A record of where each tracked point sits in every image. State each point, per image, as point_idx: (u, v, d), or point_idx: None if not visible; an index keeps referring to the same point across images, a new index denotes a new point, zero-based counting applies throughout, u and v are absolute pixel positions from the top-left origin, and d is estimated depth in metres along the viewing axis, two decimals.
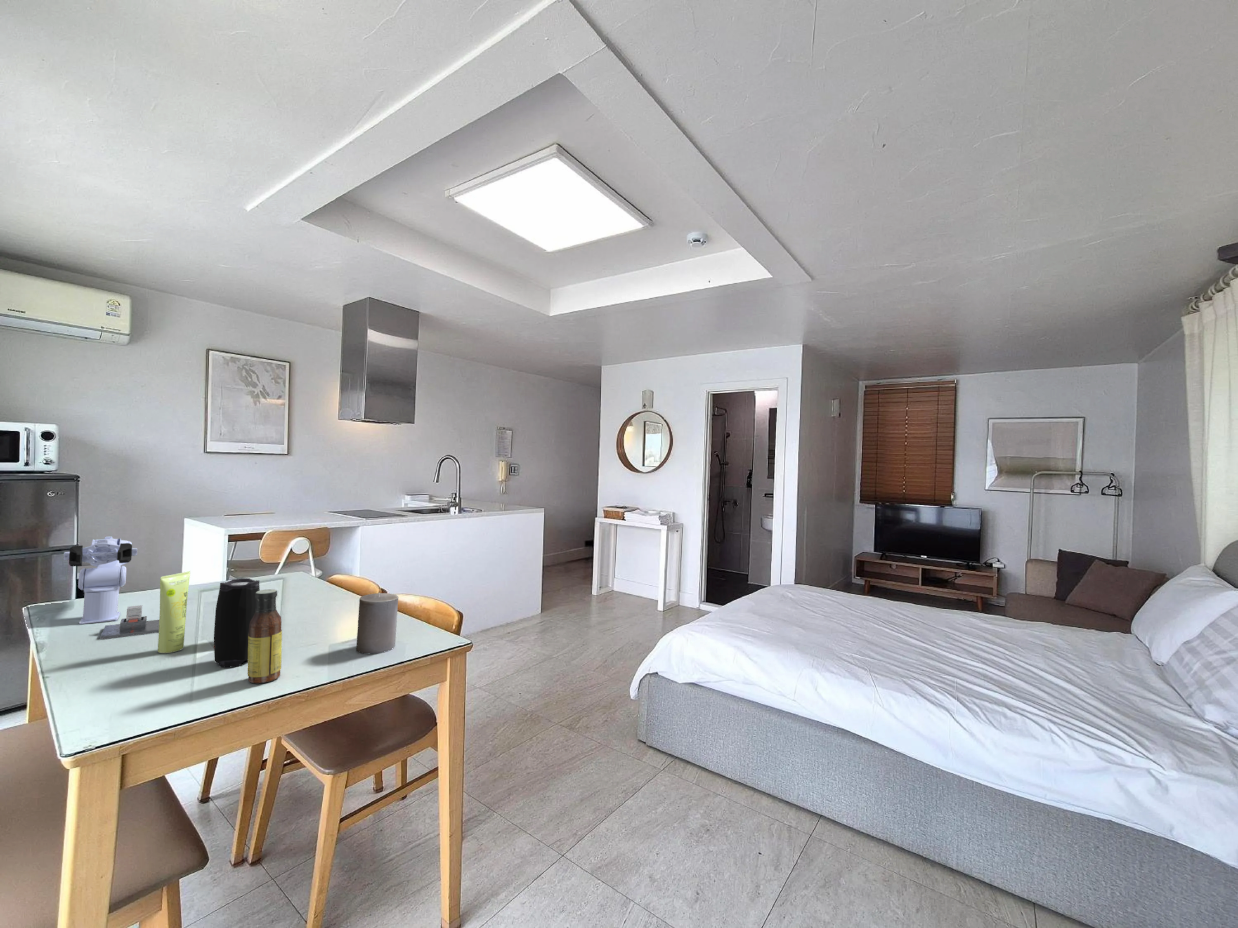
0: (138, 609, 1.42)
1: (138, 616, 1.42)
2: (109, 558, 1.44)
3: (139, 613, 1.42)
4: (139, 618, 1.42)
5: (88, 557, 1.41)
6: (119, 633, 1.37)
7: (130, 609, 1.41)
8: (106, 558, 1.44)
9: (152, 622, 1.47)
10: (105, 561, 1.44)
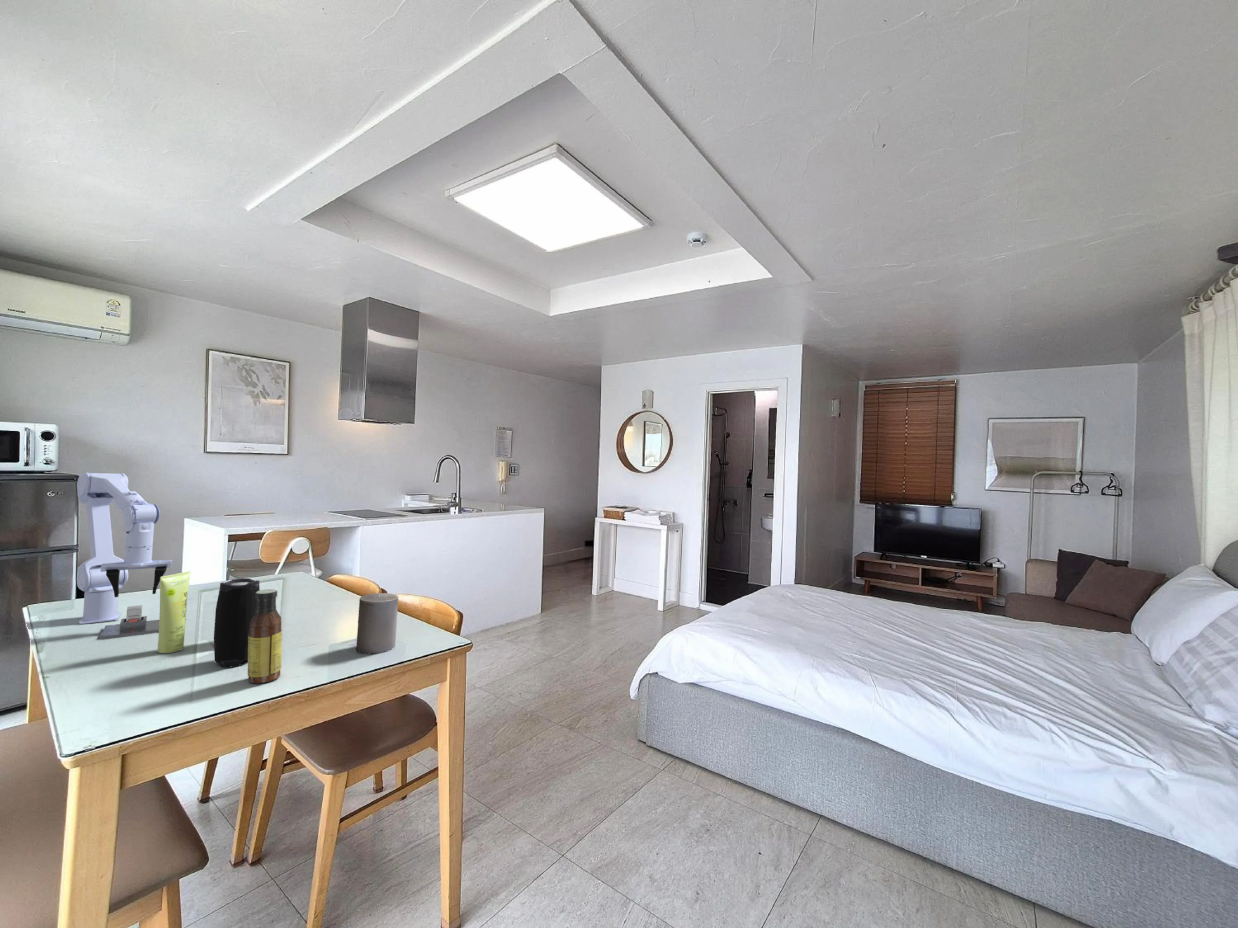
0: (138, 609, 1.42)
1: (138, 616, 1.42)
2: None
3: (139, 613, 1.42)
4: (139, 618, 1.42)
5: None
6: (119, 633, 1.37)
7: (130, 609, 1.41)
8: None
9: (152, 622, 1.47)
10: None
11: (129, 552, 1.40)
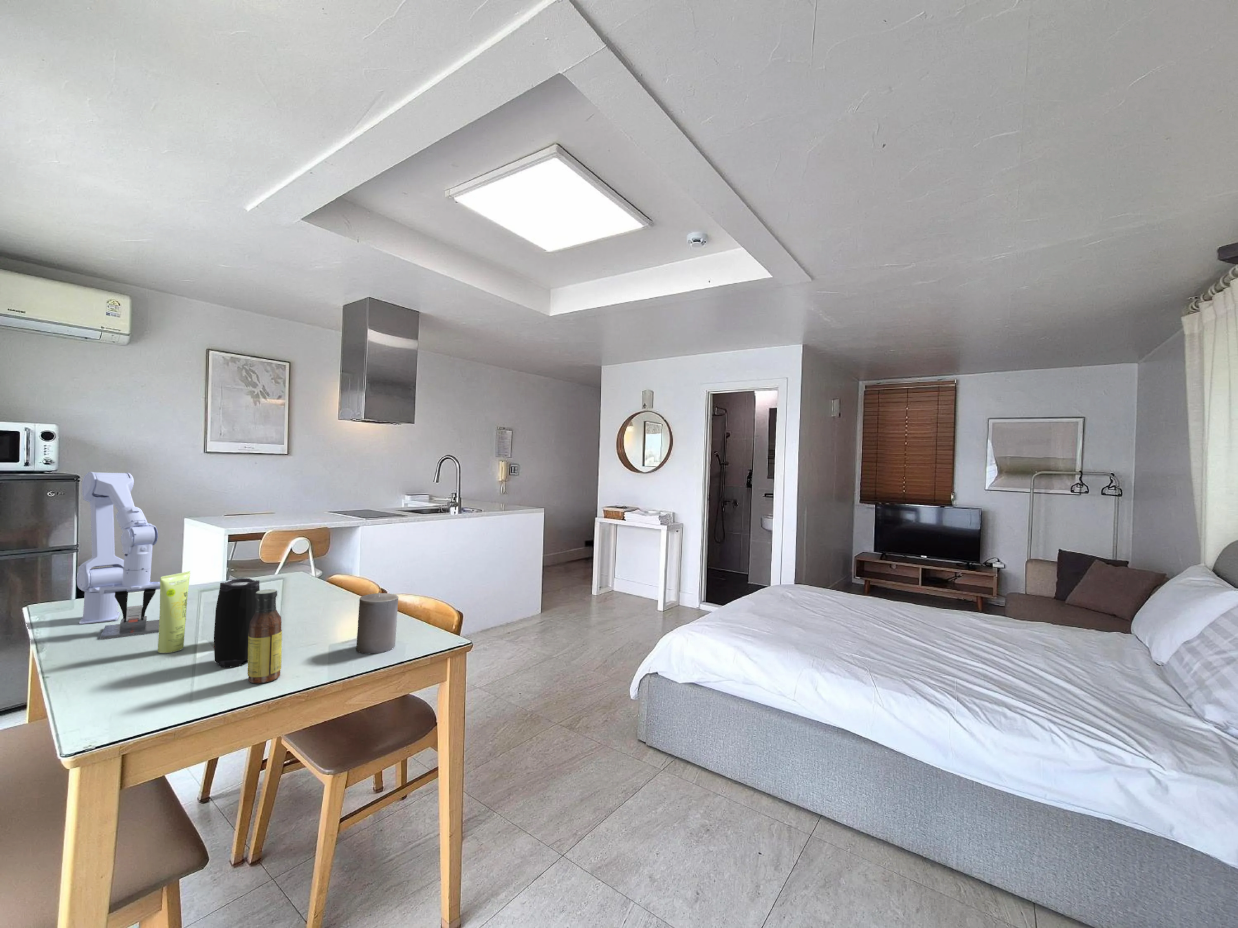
0: (138, 609, 1.42)
1: (138, 616, 1.42)
2: None
3: (139, 613, 1.42)
4: (139, 618, 1.42)
5: None
6: (119, 633, 1.37)
7: (130, 609, 1.41)
8: None
9: (152, 622, 1.47)
10: None
11: (127, 575, 1.40)
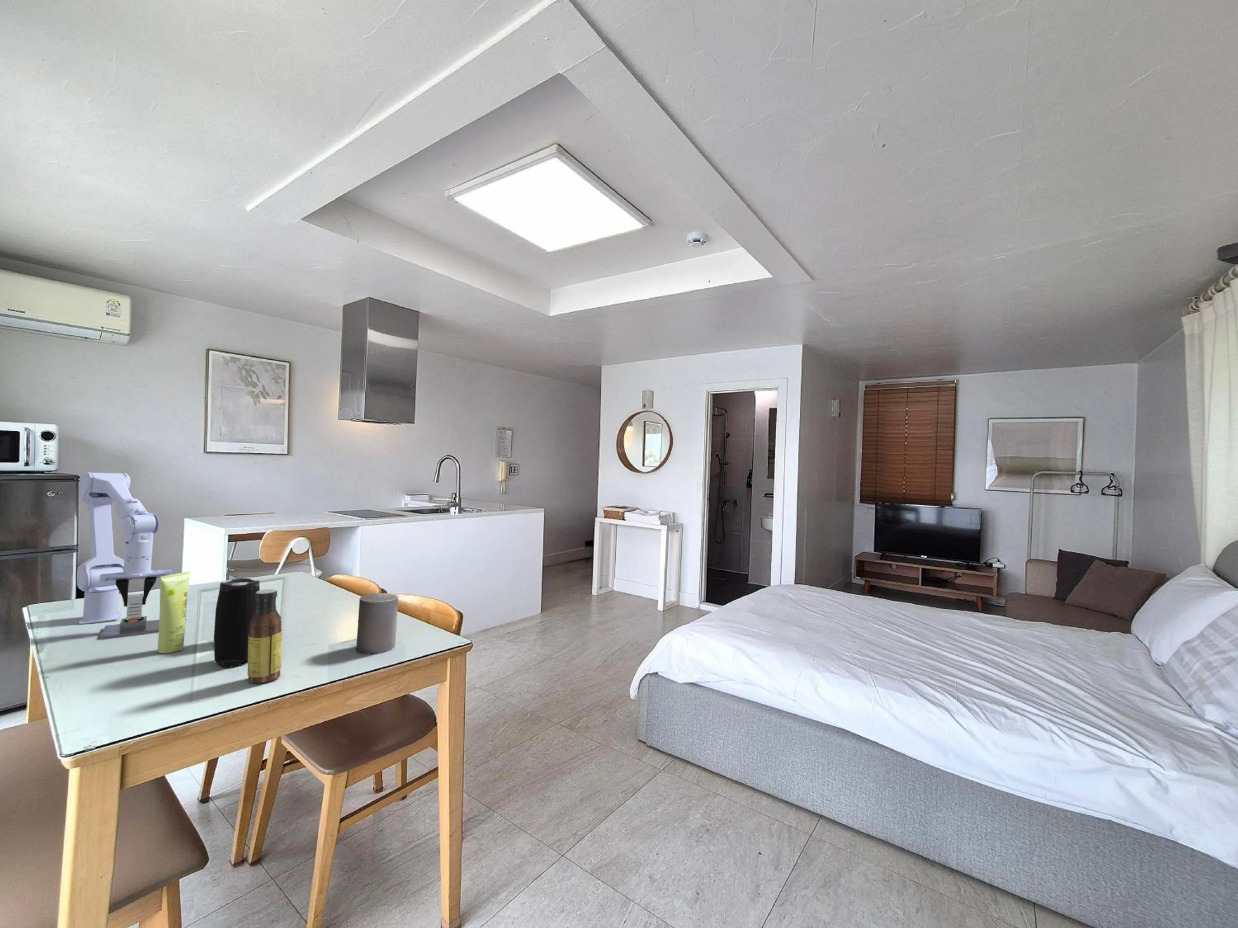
0: (139, 597, 1.42)
1: (139, 604, 1.42)
2: None
3: (140, 601, 1.42)
4: (140, 606, 1.42)
5: None
6: (119, 633, 1.37)
7: (131, 597, 1.41)
8: None
9: (152, 622, 1.47)
10: None
11: (128, 562, 1.40)
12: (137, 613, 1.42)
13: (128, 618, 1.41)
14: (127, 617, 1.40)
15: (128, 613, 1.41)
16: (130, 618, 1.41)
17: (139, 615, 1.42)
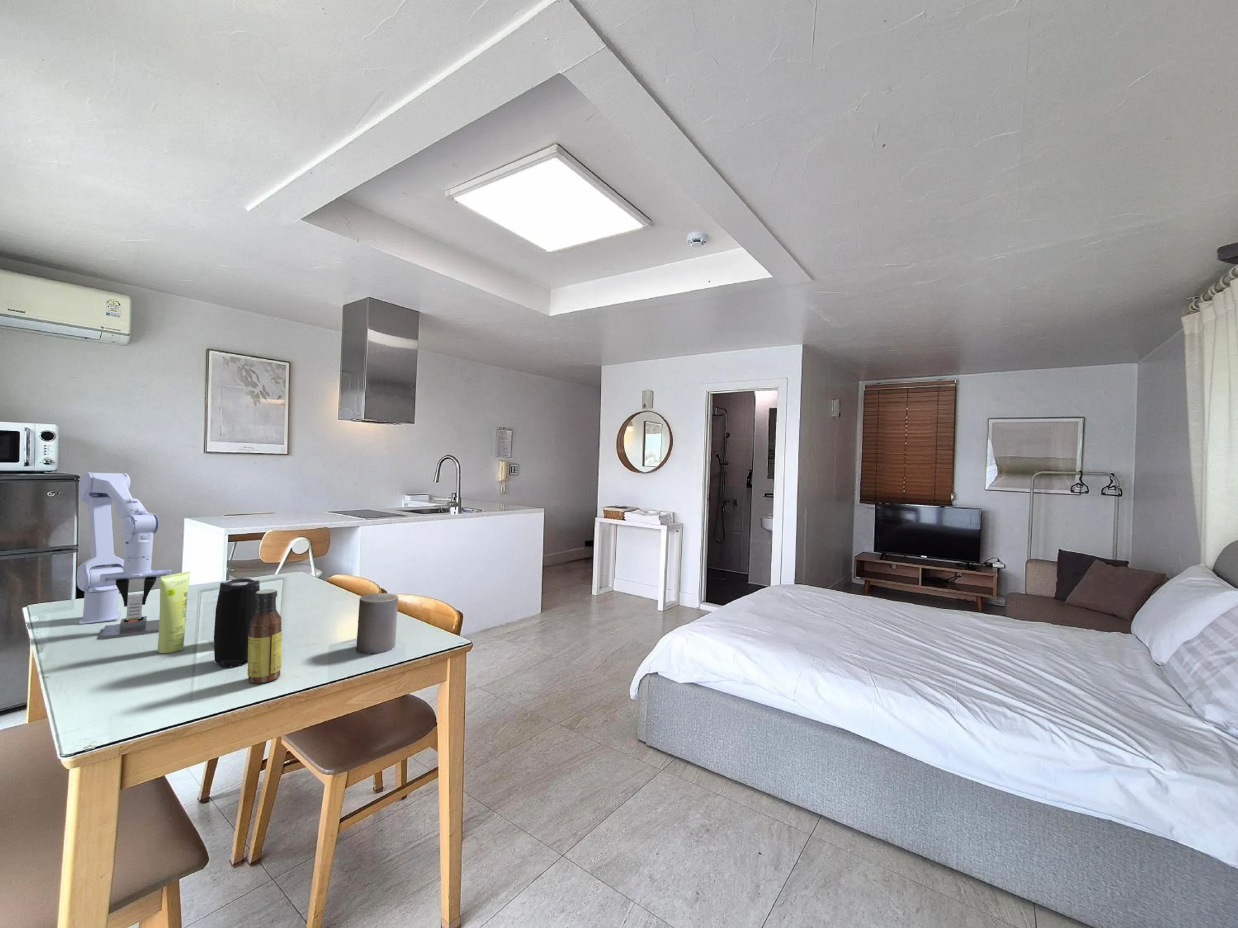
0: (139, 597, 1.42)
1: (139, 604, 1.42)
2: None
3: (140, 601, 1.42)
4: (140, 606, 1.42)
5: None
6: (119, 633, 1.37)
7: (131, 597, 1.41)
8: None
9: (152, 622, 1.47)
10: None
11: (128, 562, 1.40)
12: (137, 613, 1.42)
13: (128, 618, 1.41)
14: (127, 617, 1.40)
15: (128, 613, 1.41)
16: (130, 618, 1.41)
17: (139, 615, 1.42)
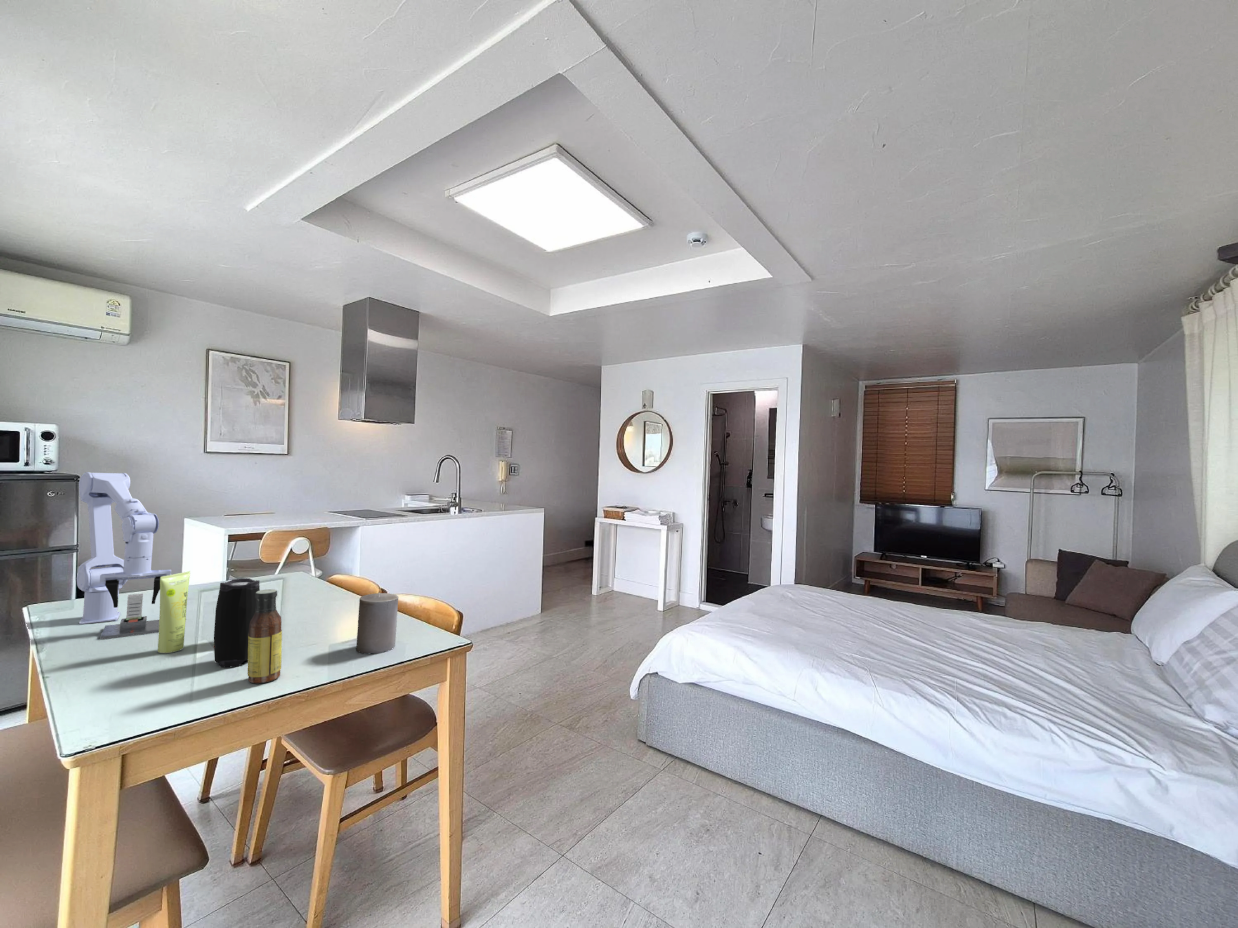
0: (139, 597, 1.42)
1: (139, 604, 1.42)
2: None
3: (140, 601, 1.42)
4: (140, 606, 1.42)
5: None
6: (119, 633, 1.37)
7: (131, 597, 1.41)
8: None
9: (152, 622, 1.47)
10: None
11: (128, 562, 1.40)
12: (137, 613, 1.42)
13: (128, 618, 1.41)
14: (127, 617, 1.40)
15: (128, 613, 1.41)
16: (130, 618, 1.41)
17: (139, 615, 1.42)
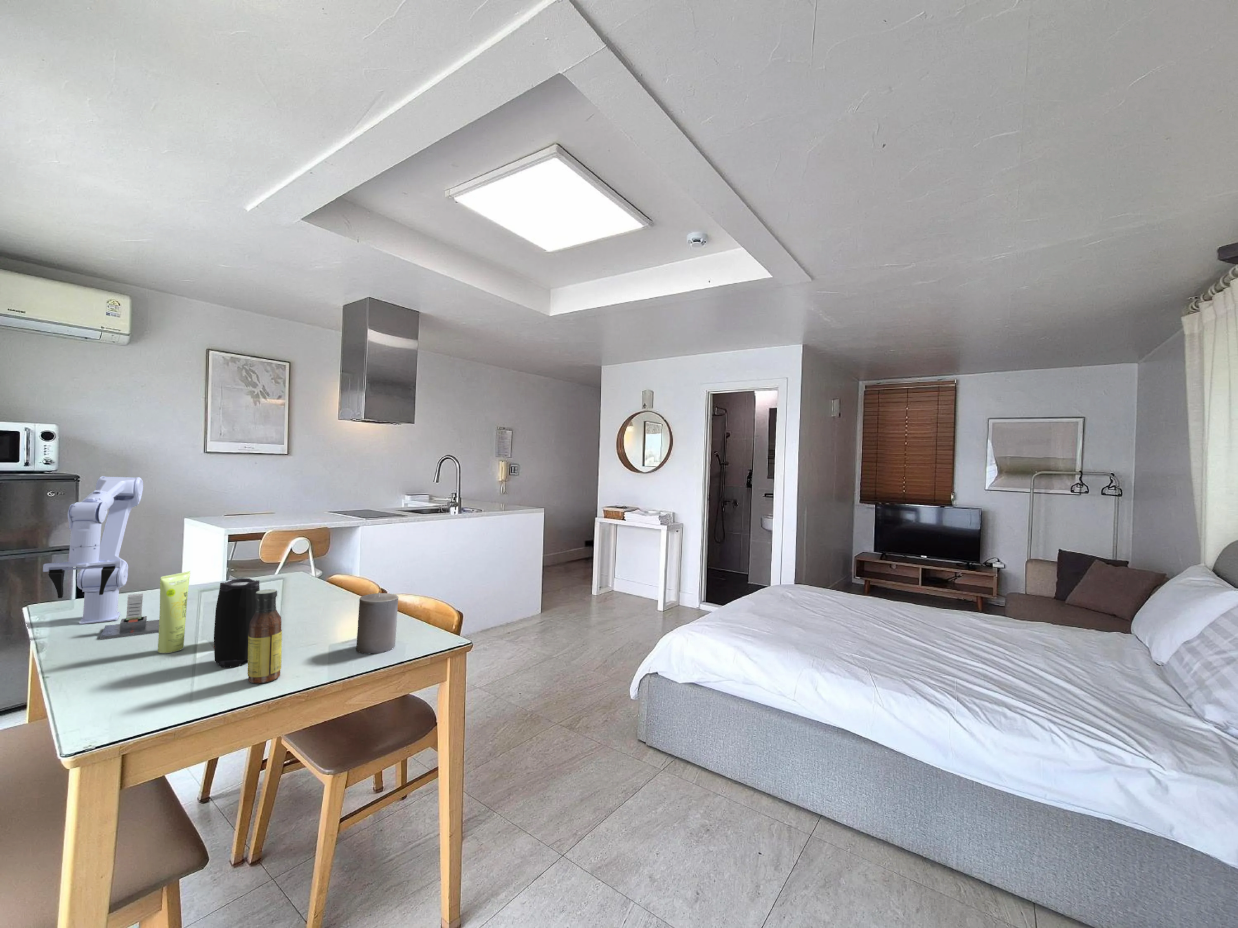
0: (139, 597, 1.42)
1: (139, 604, 1.42)
2: None
3: (140, 601, 1.42)
4: (140, 606, 1.42)
5: None
6: (119, 633, 1.37)
7: (131, 597, 1.41)
8: None
9: (152, 622, 1.47)
10: None
11: (74, 551, 1.35)
12: (137, 613, 1.42)
13: (128, 618, 1.41)
14: (127, 617, 1.40)
15: (128, 613, 1.41)
16: (130, 618, 1.41)
17: (139, 615, 1.42)
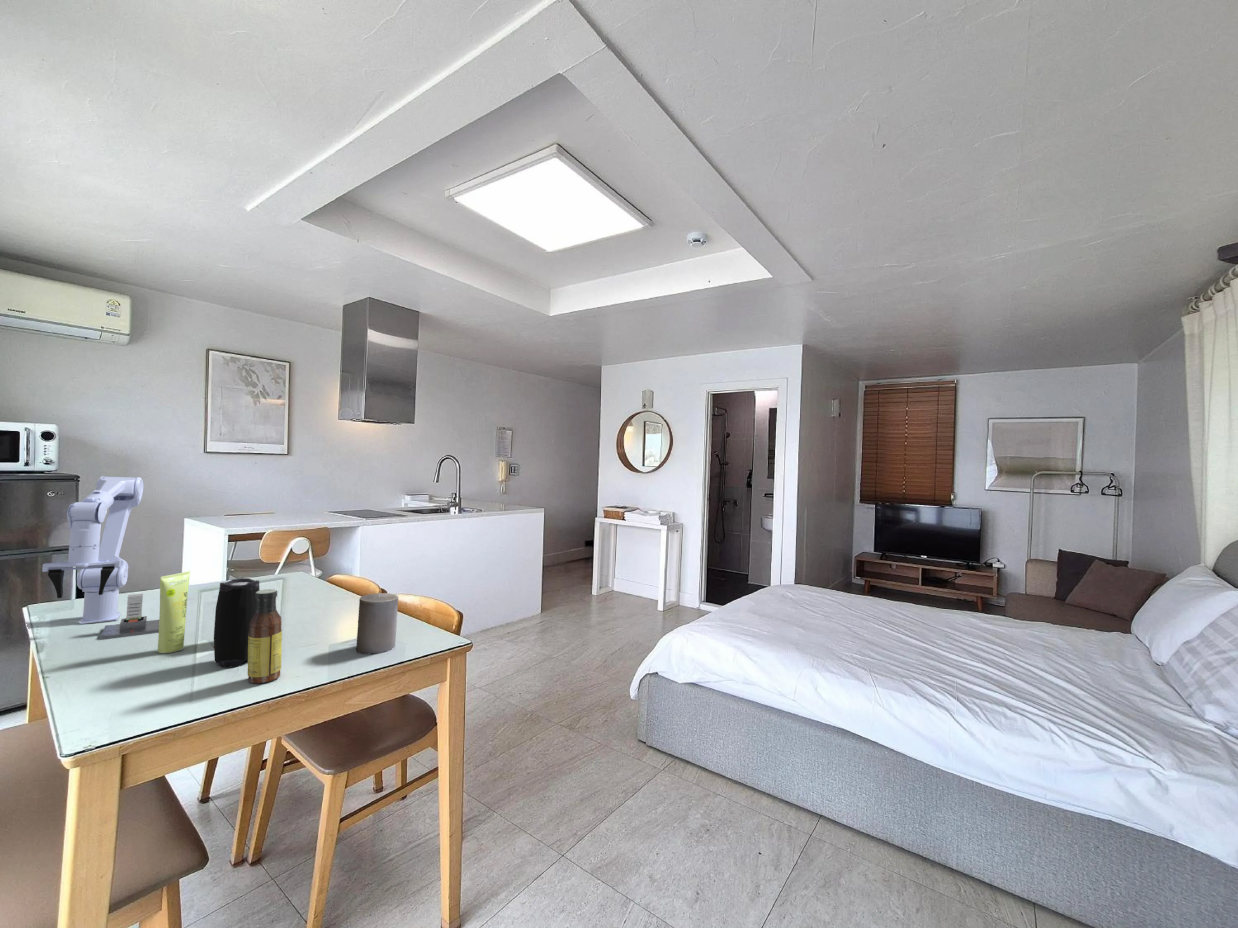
0: (139, 597, 1.42)
1: (139, 604, 1.42)
2: None
3: (140, 601, 1.42)
4: (140, 606, 1.42)
5: None
6: (119, 633, 1.37)
7: (131, 597, 1.41)
8: None
9: (152, 622, 1.47)
10: None
11: (73, 551, 1.35)
12: (137, 613, 1.42)
13: (128, 618, 1.41)
14: (127, 617, 1.40)
15: (128, 613, 1.41)
16: (130, 618, 1.41)
17: (139, 615, 1.42)
